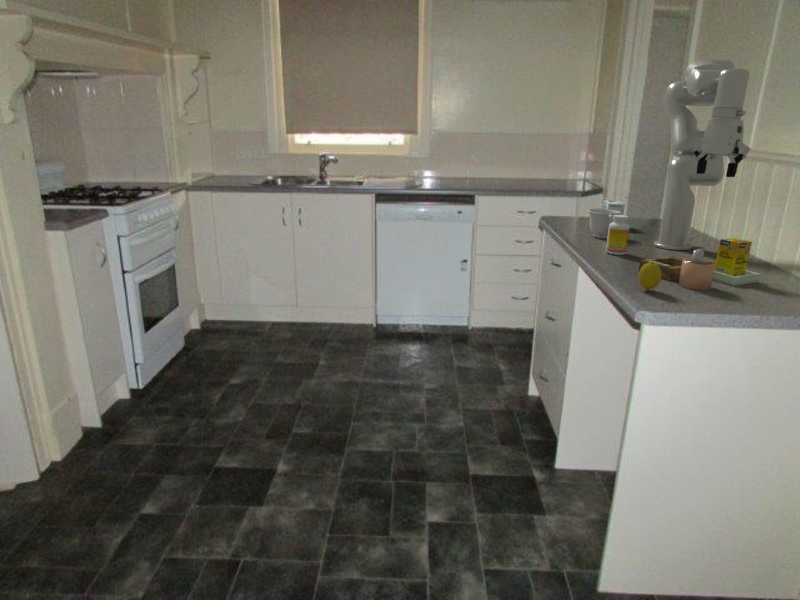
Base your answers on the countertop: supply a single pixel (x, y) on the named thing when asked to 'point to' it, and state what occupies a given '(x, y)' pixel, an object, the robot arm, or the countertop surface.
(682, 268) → the tan dispenser bottle
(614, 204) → the light bulb box
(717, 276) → the pale green square tray
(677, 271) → the wooden cubby shelf
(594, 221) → the teacup
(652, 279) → the lemon
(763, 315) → the countertop surface
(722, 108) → the robot arm
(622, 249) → the supplement bottle
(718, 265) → the supplement box
